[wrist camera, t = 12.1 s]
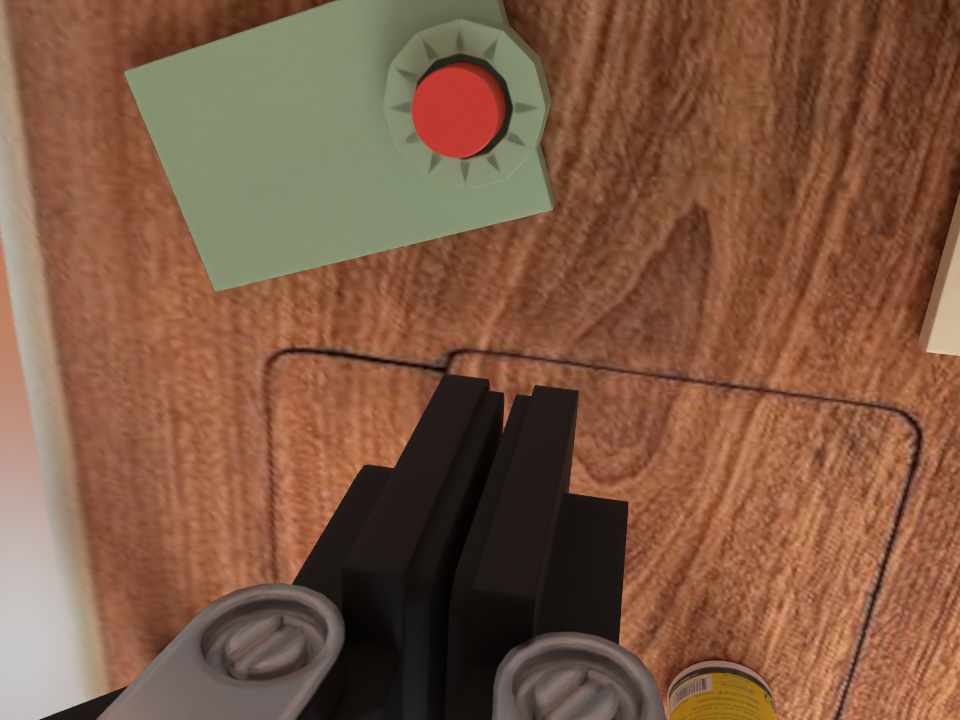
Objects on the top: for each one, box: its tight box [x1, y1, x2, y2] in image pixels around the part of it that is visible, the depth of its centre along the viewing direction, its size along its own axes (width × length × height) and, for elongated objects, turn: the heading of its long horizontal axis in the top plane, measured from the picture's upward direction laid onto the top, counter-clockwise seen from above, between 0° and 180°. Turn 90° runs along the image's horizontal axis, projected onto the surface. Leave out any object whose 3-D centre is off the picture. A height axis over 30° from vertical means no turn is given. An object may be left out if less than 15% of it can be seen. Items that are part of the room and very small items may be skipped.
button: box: [412, 62, 506, 158], centre depth 33 cm, size 3×3×2 cm
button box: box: [124, 0, 556, 291], centre depth 36 cm, size 17×10×3 cm, turn 106°
